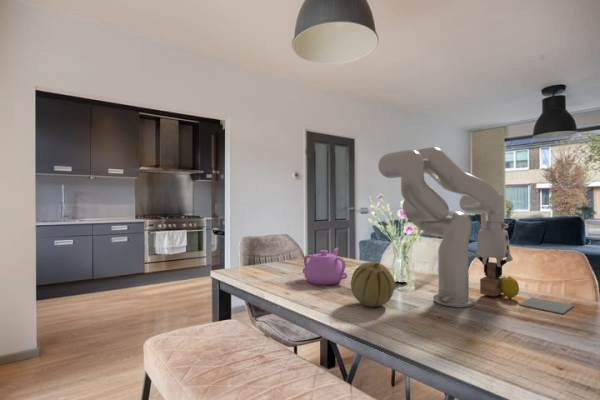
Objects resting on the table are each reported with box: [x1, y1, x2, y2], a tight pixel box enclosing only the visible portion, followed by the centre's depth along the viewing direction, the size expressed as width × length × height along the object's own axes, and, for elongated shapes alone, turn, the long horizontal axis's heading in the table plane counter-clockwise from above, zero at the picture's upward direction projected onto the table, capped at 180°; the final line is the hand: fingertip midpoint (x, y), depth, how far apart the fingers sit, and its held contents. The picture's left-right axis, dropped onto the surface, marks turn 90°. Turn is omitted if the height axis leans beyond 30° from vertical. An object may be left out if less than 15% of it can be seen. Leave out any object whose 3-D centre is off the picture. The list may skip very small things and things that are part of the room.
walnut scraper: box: [479, 261, 507, 297], centre depth 129 cm, size 10×5×11 cm, turn 130°
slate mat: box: [518, 297, 574, 315], centre depth 116 cm, size 12×12×1 cm
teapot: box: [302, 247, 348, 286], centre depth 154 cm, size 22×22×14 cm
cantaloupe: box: [350, 261, 395, 308], centre depth 118 cm, size 15×15×15 cm
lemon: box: [501, 275, 520, 299], centre depth 124 cm, size 6×6×8 cm
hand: (492, 275), depth 128 cm, fingers closed on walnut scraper, 3 cm apart
